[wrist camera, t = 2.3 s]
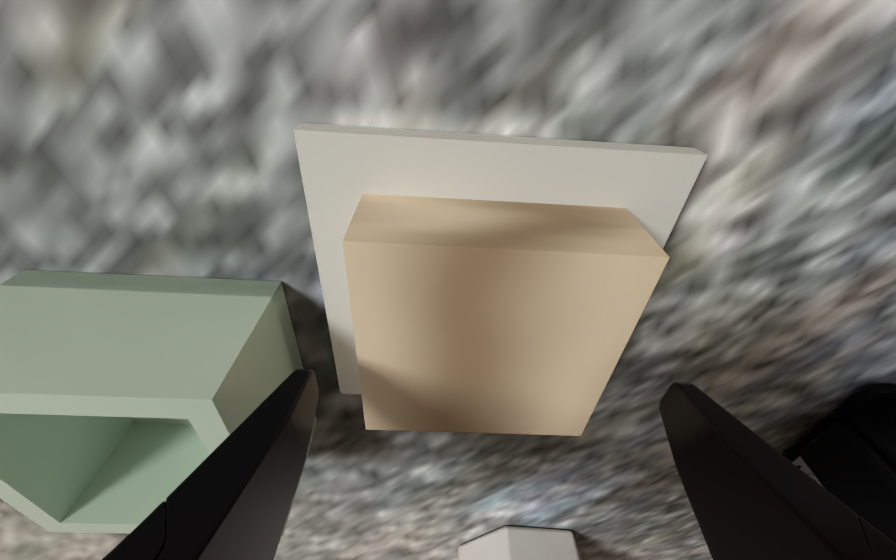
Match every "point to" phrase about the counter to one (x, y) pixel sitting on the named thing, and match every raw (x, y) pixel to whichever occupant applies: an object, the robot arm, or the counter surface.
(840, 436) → the robot arm
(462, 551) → the jar
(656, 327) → the counter surface
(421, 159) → the mat
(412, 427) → the lid
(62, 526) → the sage green tray
